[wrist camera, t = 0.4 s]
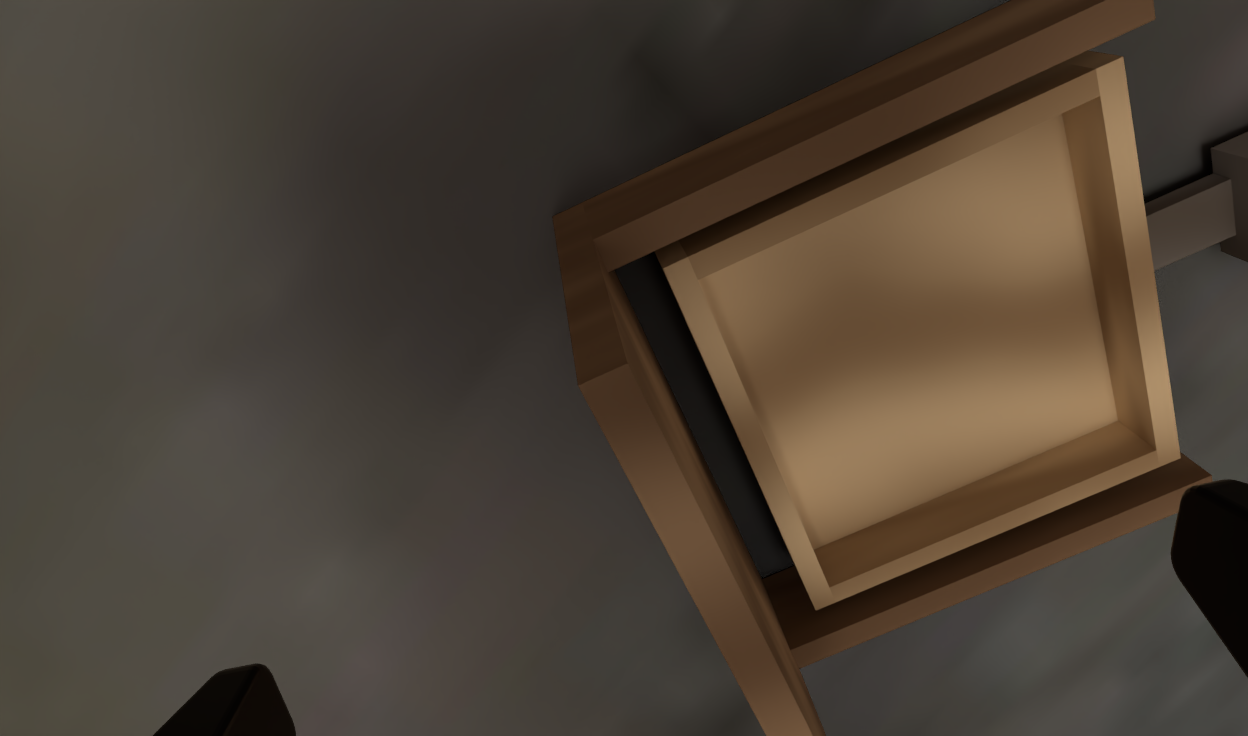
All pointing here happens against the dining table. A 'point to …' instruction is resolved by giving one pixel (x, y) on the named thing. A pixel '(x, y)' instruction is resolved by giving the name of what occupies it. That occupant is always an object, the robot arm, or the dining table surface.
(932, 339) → the wooden drawer
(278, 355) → the dining table surface
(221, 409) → the dining table surface
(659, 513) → the open wooden box
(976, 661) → the dining table surface
